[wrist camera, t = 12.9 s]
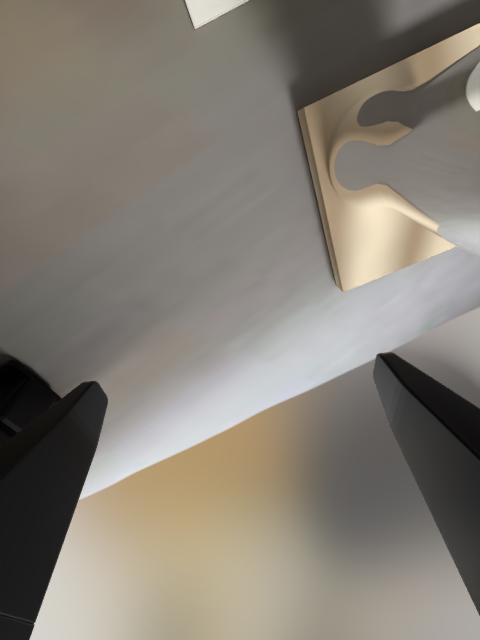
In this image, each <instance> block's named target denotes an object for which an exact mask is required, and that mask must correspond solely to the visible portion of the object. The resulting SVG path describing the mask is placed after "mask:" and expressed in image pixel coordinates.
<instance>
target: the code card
mask: <svg viewBox="0 0 480 640" xmlns="http://www.w3.org/2000/svg"><path fill="white" fill-rule="evenodd" d="M247 1H249V0H185V2H186V5H187V8H188V11H189V14H190V17H191V20H192V23H193V26H194V29H197V28H198V27H200V26H202V25H204V24H206V23H208V22H210V21H212V20H213V19H215V18H217V17H219V16H221V15H223V14H225V13H227V12H228V11H230V10H232V9H234V8H236V7H238V6H240V5H242V4H243V3H245V2H247Z"/></svg>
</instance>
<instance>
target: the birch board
mask: <svg viewBox="0 0 480 640" xmlns="http://www.w3.org/2000/svg"><path fill="white" fill-rule="evenodd" d="M479 45H480V23H479V24H477V25H475V26H472V27H470V28H468V29H466V30H464V31H462V32H460V33H458V34H456V35H454V36H452V37H450V38H448V39H445V40H443V41H441V42H439V43H437V44H435V45H433V46H431V47H429V48H427V49H425V50H423V51H421V52H418V53H416V54H414V55H412V56H410V57H408V58H406V59H404V60H402V61H400V62H398V63H396V64H394V65H391V66H389V67H387V68H385V69H383V70H381V71H379V72H377V73H375V74H373V75H371V76H369V77H367V78H364V79H362V80H360V81H358V82H356V83H354V84H352V85H350V86H348V87H346V88H344V89H342V90H340V91H337V92H335V93H333V94H331V95H329V96H327V97H325V98H323V99H321V100H319V101H317V102H315V103H313V104H310V105H308V106H306V107H304V108H302V109H300V110H299V111H297V112H298V116H299V121H300V125H301V130H302V134H303V139H304V143H305V148H306V152H307V156H308V161H309V165H310V170H311V174H312V179H313V183H314V188H315V192H316V197H317V201H318V205H319V210H320V214H321V219H322V223H323V228H324V232H325V237H326V241H327V246H328V250H329V254H330V259H331V263H332V268H333V272H334V277H335V281H336V286H337V287H338V288H339V289H340V290H341V291H342V292H345V291H348V290H350V289H353V288H355V287H358V286H360V285H363V284H365V283H368V282H370V281H372V280H375V279H377V278H380V277H382V276H385V275H387V274H390V273H392V272H395V271H397V270H400V269H402V268H405V267H407V266H410V265H412V264H414V263H417V262H419V261H422V260H424V259H427V258H429V257H432V256H434V255H437V254H439V253H442V252H444V251H447V250H449V249H452V248H454V247H456V246H455V245H454V244H452V243H450V242H448V241H446V240H444V239H442V238H441V237H439V236H437V235H436V234H434V233H433V232H431V231H429V230H428V229H426V228H425V227H423V226H421V225H420V224H418V223H417V222H415V221H414V220H412V219H411V218H409V217H408V216H406V215H404V214H403V213H401V212H399V211H397V210H395V209H392V208H372V209H366V208H359V207H355V206H352V205H350V204H348V203H347V202H345V201H344V200H343V199H342V198H341V197H340V196H339V195H338V193H337V192H336V190H335V189H334V187H333V184H332V182H331V178H330V174H329V151H330V146H331V142H332V139H333V136H334V134H335V131H336V129H337V127H338V125H339V123H340V121H341V120H342V118H343V117H344V115H345V114H346V113H347V111H348V110H349V109H350V108H351V107H352V106H353V104H354V103H356V102H357V101H358V100H359V99H360V98H361V97H363V96H364V95H365V94H367V93H369V92H370V91H372V90H374V89H377V88H379V87H383V86H386V85H393V84H415V83H419V82H422V81H424V80H426V79H428V78H430V77H432V76H433V75H435V74H436V73H438V72H440V71H441V70H443V69H444V68H446V67H447V66H449V65H450V64H452V63H453V62H455V61H456V60H458V59H459V58H461V57H462V56H464V55H465V54H467V53H468V52H470V51H471V50H473V49H474V48H476V47H477V46H479Z"/></svg>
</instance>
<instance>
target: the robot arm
mask: <svg viewBox="0 0 480 640" xmlns="http://www.w3.org/2000/svg"><path fill="white" fill-rule="evenodd" d="M11 366H12V367H11ZM373 378H374V381H375V384H376V387H377V390H378V393H379V396H380V399H381V402H382V405H383V408H384V410H385V413H386V416H387V419H388V422H389V425H390V427H391V429H392V432H393V434H394V436H395V438H396V440H397V442H398V445H399V447H400V449H401V451H402V453H403V455H404V457H405V459H406V461H407V464H408V466H409V467H410V470H411V472H412V474H413V476H414V478H415V480H416V482H417V484H418V487H419V489H420V491H421V493H422V495H423V497H424V499H425V501H426V503H427V506H428V508H429V510H430V512H431V514H432V516H433V518H434V520H435V522H436V525H437V527H438V528H439V531H440V533H441V535H442V537H443V539H444V541H445V544H446V546H447V548H448V550H449V552H450V554H451V556H452V558H453V560H454V562H455V565H456V567H457V568H458V571H459V573H460V575H461V577H462V579H463V582H464V584H465V586H466V588H467V590H468V592H469V594H470V596H471V598H472V601H473V603H474V605H475V607H476V609H477V611H478V613H479V615H480V408H478V407H477V406H475V405H474V404H472V403H471V402H469V401H468V400H466V399H464V398H463V397H461V396H460V395H458V394H457V393H455V392H453V391H452V390H450V389H449V388H447V387H446V386H444V385H442V384H441V383H439V382H438V381H436V380H435V379H433V378H432V377H430V376H429V375H427V374H425V373H424V372H422V371H421V370H419V369H418V368H416V367H414V366H413V365H411V364H410V363H408V362H407V361H405V360H403V359H402V358H401V357H399V356H397V355H396V354H394V353H392V352H388V353H379V354H377V356H376V360H375V365H374V371H373ZM107 404H108V398H107V396H106V394H105V393H104V391H103V390H102V388H101V387H100V385H99V384H98V383H97V382H96V381H90V382H83V383H81V384H80V385H79V386H77V387H76V388H75V389H74V390H72V391H71V392H70V393H68V394H67V395H66V396H65V397H63V398H62V399H60V398H58V397H57V396H56V395H55V394H54V393H53V392H52V391H50V390H49V389H48V388H47V387H46V386H45V385H44V384H42V383H41V382H40V381H39V380H38V379H37V378H36V377H34V376H33V375H32V374H31V373H30V372H29V371H28V370H27V369H25V368H24V367H23V366H22V365H21V364H20V363H18V362H17V361H14V360H10V361H7V362H4V363H2V364H0V640H29V639H30V636H31V633H32V630H33V628H34V623H35V621H36V618H37V616H38V613H39V610H40V607H41V605H42V602H43V599H44V596H45V593H46V590H47V588H48V585H49V582H50V579H51V576H52V573H53V570H54V568H55V565H56V562H57V559H58V556H59V553H60V551H61V548H62V545H63V542H64V539H65V536H66V534H67V531H68V528H69V525H70V522H71V520H72V517H73V514H74V511H75V508H76V505H77V503H78V500H79V497H80V494H81V491H82V488H83V486H84V483H85V480H86V477H87V474H88V471H89V469H90V466H91V463H92V460H93V457H94V454H95V451H96V448H97V445H98V441H99V437H100V433H101V429H102V425H103V421H104V417H105V413H106V409H107Z"/></svg>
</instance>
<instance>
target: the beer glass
mask: <svg viewBox="0 0 480 640" xmlns="http://www.w3.org/2000/svg"><path fill="white" fill-rule="evenodd" d="M329 174H330V178H331V182H332V184H333V187H334V189H335V190H336V192H337V193H338V195H339V196H340V197H341V198H342V199H343V200H344V201H345V202H347V203H348V204H350V205H352V206H355V207H359V208H366V209H372V208H392V209H395V210H397V211H399V212H401V213H403V214H404V215H406V216H408V217H409V218H411V219H412V220H414V221H415V222H417V223H418V224H420V225H421V226H423V227H425V228H426V229H428V230H429V231H431V232H433V233H434V234H436V235H437V236H439V237H441V238H442V239H444V240H446V241H448V242H450V243H452V244H454V245H455V246H457V247H459V248H461V249H463V250H465V251H467V252H469V253H471V254H473V255H475V256H478V257H480V45H479V46H477V47H476V48H474V49H473V50H471V51H470V52H468V53H467V54H465V55H464V56H462V57H461V58H459V59H458V60H456V61H455V62H453V63H452V64H450V65H449V66H447V67H446V68H444V69H443V70H441V71H440V72H438V73H436V74H435V75H433V76H432V77H430V78H428V79H426V80H424V81H422V82H419V83H415V84H393V85H386V86H383V87H379V88H377V89H374V90H372V91H370V92H369V93H367V94H365V95H364V96H363V97H361V98H360V99H359V100H358V101H357V102H356V103H354V104H353V106H352V107H351V108H350V109H349V110H348V111H347V113H346V114H345V115H344V117H343V118H342V120H341V121H340V123H339V125H338V127H337V129H336V131H335V134H334V136H333V139H332V142H331V146H330V151H329Z"/></svg>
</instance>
